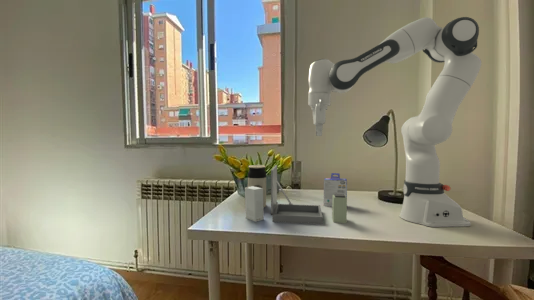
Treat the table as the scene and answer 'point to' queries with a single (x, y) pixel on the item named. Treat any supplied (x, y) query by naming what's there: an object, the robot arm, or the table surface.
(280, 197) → the table surface
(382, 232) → the table surface
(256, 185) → the travel mug
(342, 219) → the block
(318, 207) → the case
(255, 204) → the skincare box
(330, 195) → the ink cartridge box
